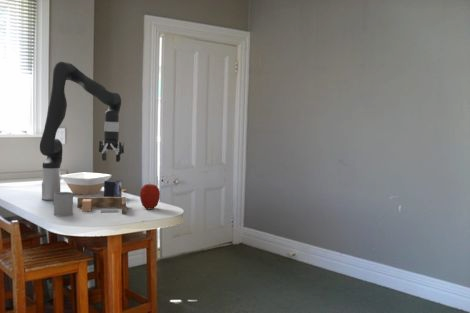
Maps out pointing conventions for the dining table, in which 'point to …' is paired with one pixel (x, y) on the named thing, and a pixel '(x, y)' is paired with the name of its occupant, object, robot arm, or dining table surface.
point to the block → (86, 204)
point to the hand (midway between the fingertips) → (111, 161)
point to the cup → (63, 204)
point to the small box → (112, 188)
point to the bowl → (85, 182)
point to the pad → (109, 210)
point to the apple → (149, 196)
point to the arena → (105, 202)
